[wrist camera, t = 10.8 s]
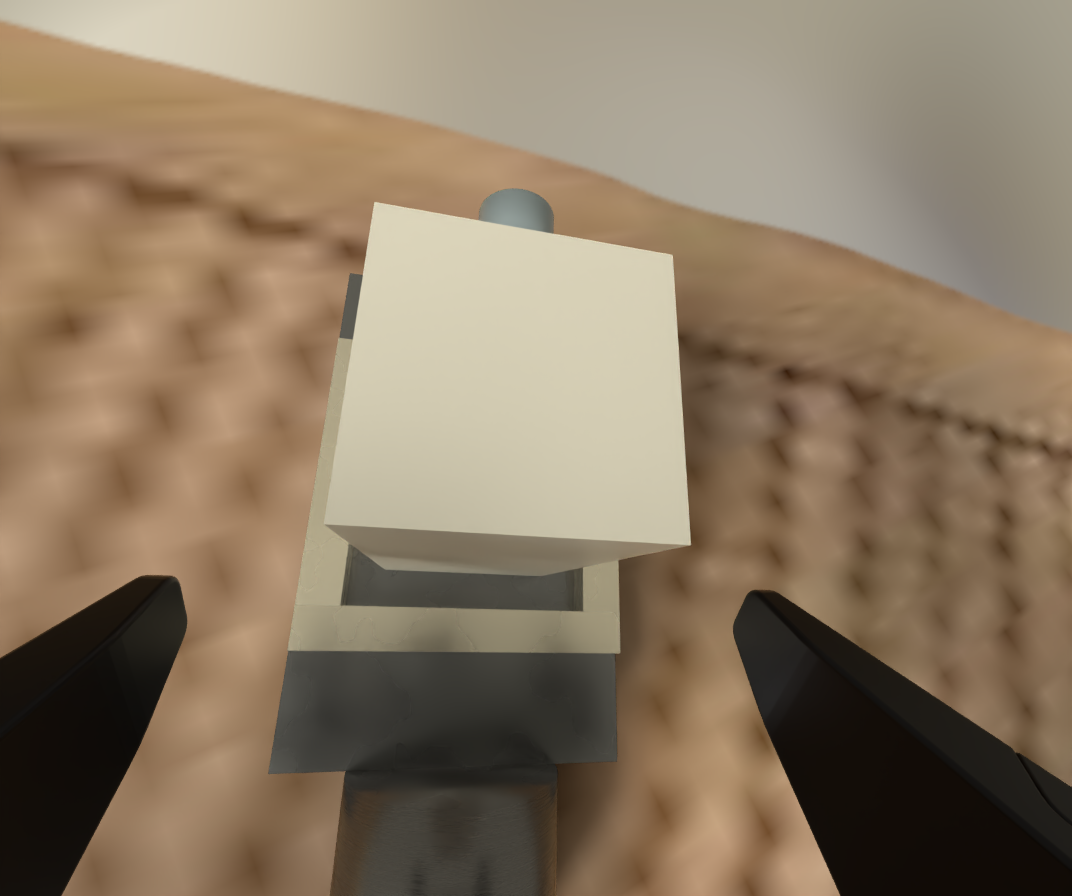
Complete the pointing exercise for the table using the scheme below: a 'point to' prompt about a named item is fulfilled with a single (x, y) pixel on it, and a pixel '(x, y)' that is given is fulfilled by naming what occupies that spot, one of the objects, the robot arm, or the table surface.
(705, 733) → the table surface
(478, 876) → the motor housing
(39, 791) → the robot arm
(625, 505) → the cream block
